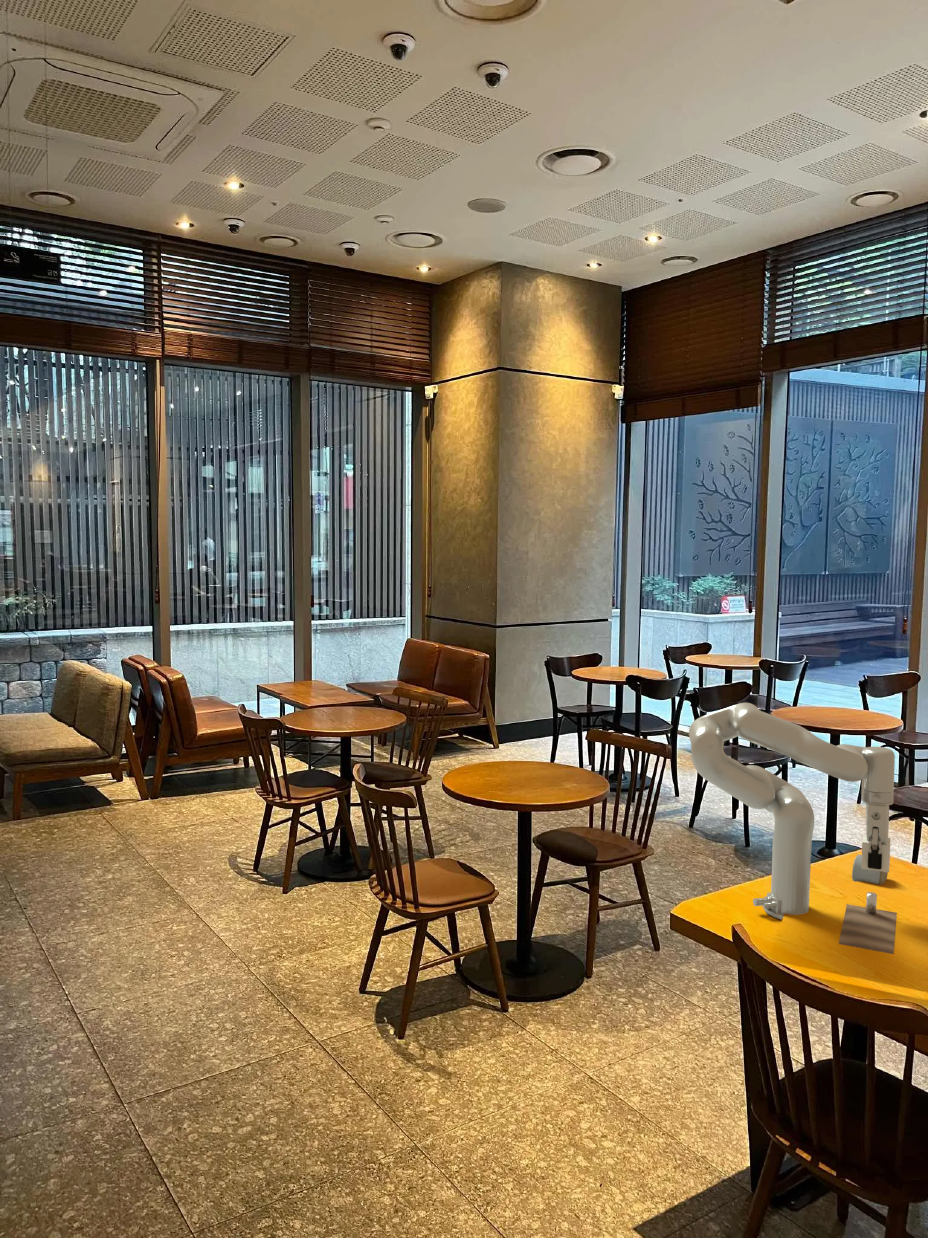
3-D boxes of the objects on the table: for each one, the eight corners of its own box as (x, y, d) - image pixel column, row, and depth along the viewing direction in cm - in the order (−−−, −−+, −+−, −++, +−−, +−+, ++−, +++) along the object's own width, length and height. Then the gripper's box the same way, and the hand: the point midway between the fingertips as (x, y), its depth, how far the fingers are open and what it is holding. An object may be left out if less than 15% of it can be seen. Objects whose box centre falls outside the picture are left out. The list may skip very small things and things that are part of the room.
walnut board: (893, 960, 219) (893, 954, 218) (838, 949, 224) (838, 943, 224) (896, 918, 242) (896, 912, 242) (846, 909, 247) (846, 904, 247)
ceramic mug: (881, 891, 259) (883, 864, 259) (850, 884, 264) (852, 858, 264) (890, 880, 268) (892, 854, 267) (860, 874, 273) (862, 848, 272)
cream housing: (888, 872, 236) (889, 845, 235) (861, 868, 239) (862, 842, 238) (889, 864, 242) (890, 838, 241) (862, 860, 244) (863, 834, 244)
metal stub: (869, 915, 240) (870, 896, 240) (863, 911, 243) (864, 892, 242) (877, 914, 241) (878, 895, 240) (872, 910, 243) (873, 892, 242)
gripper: (892, 807, 229) (890, 877, 231) (894, 788, 244) (892, 855, 246) (859, 803, 232) (857, 873, 234) (863, 785, 248) (861, 851, 250)
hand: (875, 863), depth 240 cm, fingers closed on cream housing, 6 cm apart
